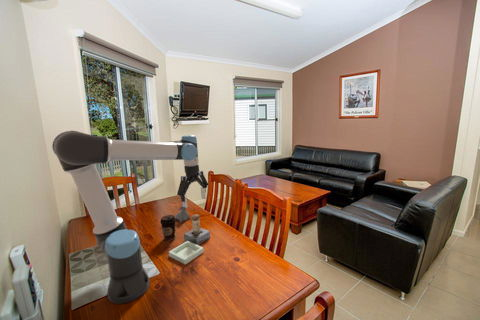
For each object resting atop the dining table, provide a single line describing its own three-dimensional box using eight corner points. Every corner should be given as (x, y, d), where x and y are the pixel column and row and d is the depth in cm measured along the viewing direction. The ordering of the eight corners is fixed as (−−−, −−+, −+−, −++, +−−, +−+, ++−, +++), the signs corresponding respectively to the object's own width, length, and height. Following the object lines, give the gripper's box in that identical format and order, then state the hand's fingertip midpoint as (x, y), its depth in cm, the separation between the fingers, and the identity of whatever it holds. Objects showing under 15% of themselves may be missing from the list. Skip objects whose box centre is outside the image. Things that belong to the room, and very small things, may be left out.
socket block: (196, 245, 122) (196, 239, 121) (184, 240, 127) (183, 233, 127) (209, 237, 130) (209, 231, 129) (197, 232, 135) (197, 226, 135)
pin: (197, 241, 126) (195, 218, 123) (192, 239, 128) (190, 216, 125) (202, 238, 129) (200, 215, 126) (197, 236, 131) (195, 213, 129)
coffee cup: (172, 243, 125) (170, 221, 123) (159, 242, 127) (156, 220, 125) (180, 235, 134) (178, 214, 131) (167, 234, 135) (164, 213, 133)
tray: (185, 264, 106) (184, 260, 106) (169, 256, 113) (168, 251, 113) (203, 252, 116) (203, 247, 116) (187, 244, 123) (187, 240, 123)
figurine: (183, 214, 162) (182, 200, 160) (191, 218, 155) (189, 203, 153) (172, 218, 157) (171, 203, 155) (180, 222, 149) (178, 207, 148)
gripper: (177, 170, 108) (181, 212, 113) (212, 160, 128) (215, 196, 132) (167, 169, 113) (171, 209, 117) (203, 159, 132) (206, 194, 137)
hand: (194, 202), depth 125 cm, fingers open, 13 cm apart
